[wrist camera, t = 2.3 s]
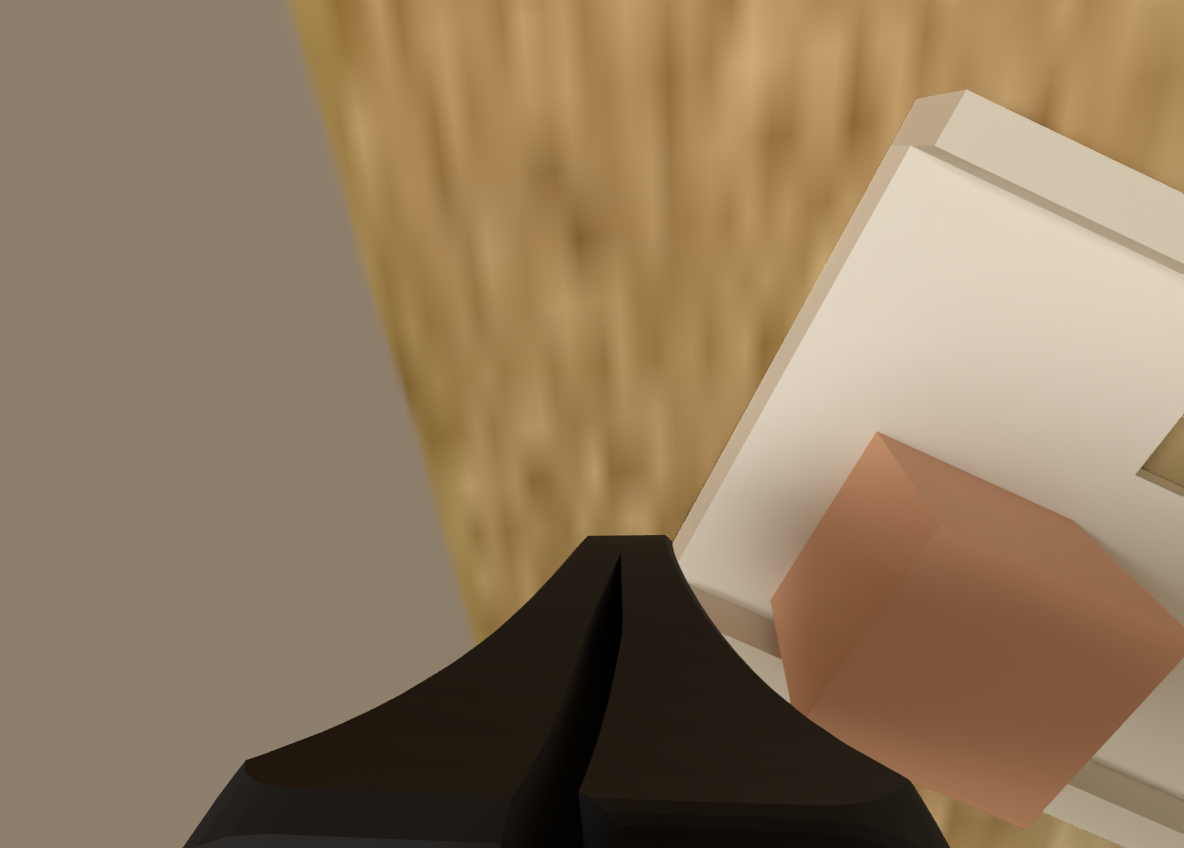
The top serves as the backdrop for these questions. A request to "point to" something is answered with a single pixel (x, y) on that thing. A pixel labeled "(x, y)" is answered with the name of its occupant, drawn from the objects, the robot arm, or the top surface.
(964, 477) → the block
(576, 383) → the top surface
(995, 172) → the lane
